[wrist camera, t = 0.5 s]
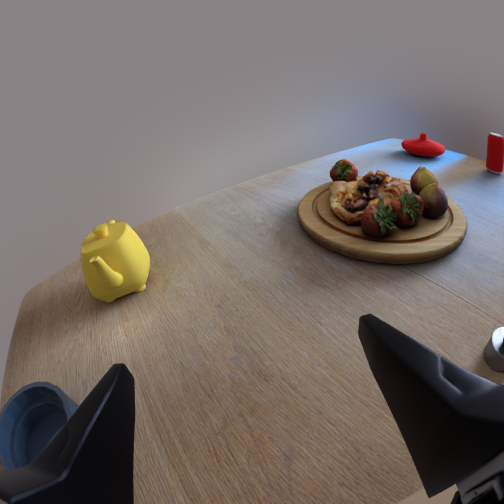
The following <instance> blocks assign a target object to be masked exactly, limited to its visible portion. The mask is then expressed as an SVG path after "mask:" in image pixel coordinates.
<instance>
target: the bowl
mask: <svg viewBox="0 0 504 504" xmlns="http://www.w3.org/2000/svg"><path fill="white" fill-rule="evenodd" d="M78 407H79V405H77V404H76V403H75V402H74V401H73V400H72V399H71V398H70V397H69V396H68V395H67V394H65V393H64V392H63V391H62V390H61V389H60V388H59V387H58V386H55V385H53V384H51V383H49V382H34V383H31V384H29V385H26V386H24V387H22V388H21V389H20V390H19V391H17V392H16V393H15V394H14V395H13V396H12V397H11V398H10V399H9V400H8V402H7V403H6V405H5V406H4V407H3V409H2V411H1V414H0V463H1V466H2V468H3V469H4V470H11V469H16V468H21V467H24V466H26V465H28V464H30V463H31V462H32V461H33V460H34V459H35V458H36V457H37V456H38V455H39V454H40V453H41V452H42V451H43V450H44V448H45V447H46V446H47V445H48V444H49V443H50V442H51V441H52V440H53V439H54V437H55V436H56V435H57V434H58V432H59V431H60V430H61V429H62V427H63V426H64V425H65V424H66V422H67V421H68V420H69V419H70V417H71V416H72V415H73V414H74V412H75V411H76V410H77V409H78Z"/></svg>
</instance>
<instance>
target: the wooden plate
mask: <svg viewBox="0 0 504 504" xmlns="http://www.w3.org/2000/svg"><path fill="white" fill-rule="evenodd" d="M330 177H331V179H332V180H333V181H331V182H328V183H325V184H323V185H320V186H318V187H317V188H315V189H313V190H311V191H310V192H308V193H307V194H306V195H305V196H304V197H303V199H302V200H301V201H300V203H299V206H298V209H297V218H298V221H299V224H300V225H301V227H302V228H303V230H304V231H305V232H306V233H307V234H308V235H309V236H310V237H311V238H312V239H313V240H314V241H316V242H317V243H319V244H321V245H322V246H324V247H326V248H328V249H330V250H333V251H335V252H338V253H340V254H343V255H346V256H349V257H352V258H356V259H361V260H366V261H372V262H380V263H389V264H408V263H418V262H424V261H429V260H434V259H437V258H440V257H442V256H444V255H447V254H449V253H450V252H452V251H453V250H455V249H456V248H457V247H458V246H459V245H460V244H461V242H462V241H463V240H464V237H465V235H466V232H467V221H466V218H465V215H464V213H463V211H462V210H461V208H460V207H459V206H458V205H457V204H456V203H455V202H454V201H453V200H452V199H451V198H449V197H448V196H447V195H446V194H445V192H444V191H443V190H442V189H441V188H440V187H439V184H438V181H437V179H436V178H435V176H434V175H433V174H432V173H431V172H430V171H429V170H428V169H426V168H425V167H419V168H418V169H417V170H416V172H415V173H414V174H413V175H412V177H411V180H406V179H401V178H397V177H391V176H389V175H388V174H387V173H385V172H383V171H378V170H377V172H376V174H374V173H373V171H371V172H369V173H367V174H366V175H365V176H359V177H358V170H357V169H356V167H355V166H354V165H353V164H352V162H350V161H348V160H345V159H343V160H339V161H338V162H336V164H335V165H334V167H333V168H332V169H331V171H330Z"/></svg>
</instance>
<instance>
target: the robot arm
mask: <svg viewBox="0 0 504 504" xmlns="http://www.w3.org/2000/svg"><path fill="white" fill-rule="evenodd" d="M358 335H359V339H360V341H361V344H362V347H363V349H364V352H365V355H366V358H367V360H368V363H369V366H370V369H371V371H372V373H373V375H374V377H375V379H376V381H377V383H378V385H379V387H380V389H381V392H382V394H383V396H384V398H385V400H386V402H387V404H388V406H389V408H390V410H391V412H392V415H393V417H394V419H395V421H396V423H397V425H398V427H399V430H400V432H401V434H402V436H403V438H404V441H405V443H406V445H407V447H408V450H409V452H410V454H411V456H412V459H413V461H414V464H415V466H416V469H417V471H418V473H419V476H420V478H421V481H422V483H423V486H424V488H425V490H426V493H427V495H428V497H429V498H431V497H432V496H435V495H436V494H438V493H440V492H442V491H444V490H446V489H447V488H449V487H451V486H453V485H454V484H456V485H457V488H458V491H457V492H456V493H455V495H454V497H453V500H452V502H451V504H504V385H502V384H497V383H494V382H491V381H489V380H487V379H485V378H483V377H480V376H478V375H476V374H474V373H472V372H469V371H467V370H465V369H463V368H461V367H459V366H458V365H456V364H454V363H452V362H451V361H449V360H447V359H445V358H444V357H442V356H441V357H440V355H439V354H437V353H435V352H434V351H432V350H430V349H429V348H427V347H425V346H424V345H422V344H420V343H419V342H417V341H415V340H414V339H412V338H410V337H409V336H407V335H405V334H404V333H402V332H400V331H399V330H397V329H395V328H394V327H392V326H390V325H389V324H387V323H385V322H384V321H382V320H380V319H379V318H377V317H375V316H374V315H372V314H367V315H363V316H361V317H360V319H359V329H358ZM134 429H135V387H134V377H133V375H132V374H131V373H130V371H129V370H128V368H127V367H126V366H125V365H124V364H123V363H120V364H114V365H113V366H112V367H111V368H110V369H109V370H108V372H107V373H106V374H105V375H104V377H103V378H102V379H101V380H100V381H99V383H98V384H97V385H96V386H95V387H94V389H93V390H92V391H91V392H90V394H89V395H88V396H87V397H86V399H85V400H84V401H83V402H82V404H81V405H80V406H79V407H78V409H77V410H76V411H75V412H74V414H73V415H72V416H71V417H70V419H69V420H68V421H67V422H66V424H65V425H64V426H63V427H62V429H61V430H60V431H59V432H58V434H57V435H56V436H55V437H54V439H53V440H52V441H51V442H50V443H49V444H48V445H47V446H46V447H45V448H44V450H43V451H42V452H41V453H40V454H39V455H38V456H37V457H36V458H35V459H34V460H33V461H32V462H31V463H30V464H28V465H26V466H24V467H21V468H16V469H11V470H5V471H0V504H134V494H133V455H134Z"/></svg>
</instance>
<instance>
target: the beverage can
mask: <svg viewBox="0 0 504 504" xmlns="http://www.w3.org/2000/svg"><path fill="white" fill-rule="evenodd" d="M503 162H504V138H503V136H502V135H499V134H496V133H490V134H489V136H488V145H487V160H486V167H487V169H488V170H489V171H490V172H492V173H495V174H500V173H502V171H503Z"/></svg>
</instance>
